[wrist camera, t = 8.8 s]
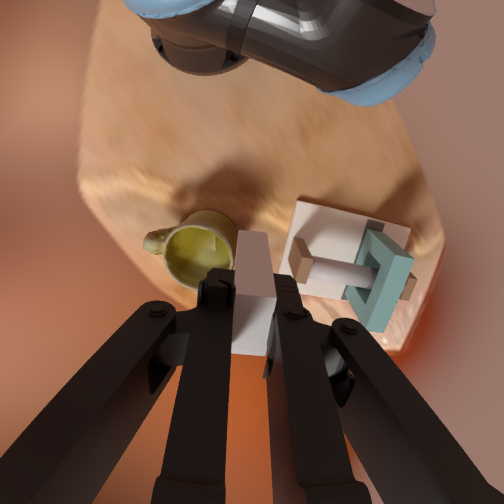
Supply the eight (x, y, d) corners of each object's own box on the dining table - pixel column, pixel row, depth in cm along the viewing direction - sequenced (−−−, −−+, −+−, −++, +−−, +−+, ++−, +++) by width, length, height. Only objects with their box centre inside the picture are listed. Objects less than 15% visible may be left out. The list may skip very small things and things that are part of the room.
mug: (261, 216, 44) (237, 257, 36) (236, 268, 50) (211, 311, 42) (183, 177, 44) (144, 208, 36) (167, 231, 50) (133, 268, 42)
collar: (344, 294, 49) (364, 330, 40) (367, 228, 45) (395, 254, 36) (361, 296, 49) (383, 332, 40) (384, 232, 45) (414, 259, 36)
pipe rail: (273, 286, 50) (278, 315, 42) (296, 199, 45) (307, 215, 37) (380, 303, 52) (398, 331, 44) (409, 227, 47) (434, 246, 39)
